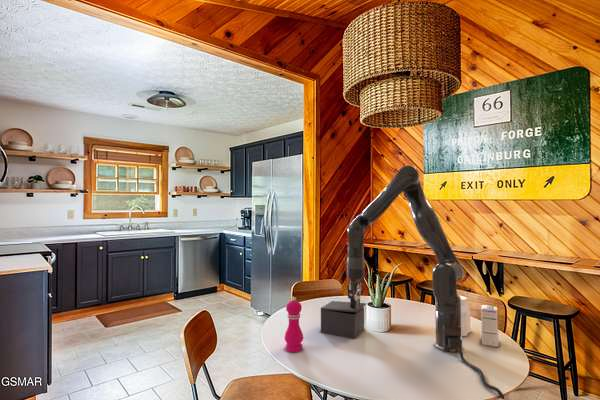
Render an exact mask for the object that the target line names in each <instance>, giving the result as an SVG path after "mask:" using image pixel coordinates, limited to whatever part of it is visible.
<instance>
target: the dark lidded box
mask: <svg viewBox="0 0 600 400" xmlns="http://www.w3.org/2000/svg"><path fill="white" fill-rule="evenodd" d="M364 330H365V306H364V307H363V308H361V309H360V310H359V311H357V312H345V311H332V310H321V309H320V333H322V334H327V335H333V336H334V335H335V336H339V337H343V338H349V339H356V338H357V337H358V336H359V335H360V334H361V333H363V332H364Z"/></svg>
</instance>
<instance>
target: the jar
mask: <svg viewBox="0 0 600 400" xmlns="http://www.w3.org/2000/svg"><path fill="white" fill-rule="evenodd" d="M458 295H459V294H458ZM459 296H460V298H461V337H468V334H470V333H471V330H472V328H471V307H470V305H469V304H468V298H467V297H466V296H464V295H459Z"/></svg>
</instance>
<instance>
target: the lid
mask: <svg viewBox="0 0 600 400" xmlns="http://www.w3.org/2000/svg"><path fill="white" fill-rule="evenodd" d="M358 299H360V300H361V296H359V295H356V301H357V305H356V307H355V308H351V307H350V301H338V300H337V301H336V300H331V301H329V302H328V303H326V304H325V305H323V306H322V307H320V311H321V310H332V311H345V312H357V311H359V310H360V309H361V308H363V307H364V308H365V306H366V305H367V304H366V302H360V305H359V301H358Z"/></svg>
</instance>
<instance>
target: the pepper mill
mask: <svg viewBox="0 0 600 400" xmlns="http://www.w3.org/2000/svg"><path fill="white" fill-rule="evenodd" d="M302 308H303V307H302V304H301V302H299V301H298V300H297V298H296V297H295V296H292V297H291V300H290V301H288V302H287V303H286V306H285V311H286V312H287V319H288V326H287V329H286V331H285V333H284V341H285V342H286V344H285V350H286V352H289V353H298V352H301V351H302V350H303V343H302V342H303V341H304V334H303V330H302V329H301V327H300V318H301V312H302Z"/></svg>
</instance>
